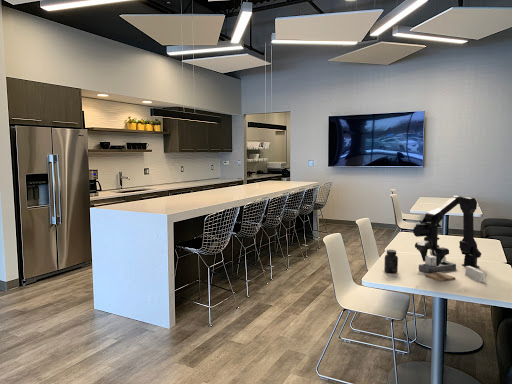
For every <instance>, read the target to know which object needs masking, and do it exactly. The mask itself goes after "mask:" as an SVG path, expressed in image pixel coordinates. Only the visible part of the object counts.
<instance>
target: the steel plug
mask: <svg viewBox="0 0 512 384" xmlns="http://www.w3.org/2000/svg"><path fill="white" fill-rule="evenodd" d="M424 264H425V265H426V266H429V267H435V266H436V257H435V256H431V255H427V256H425V262H424Z"/></svg>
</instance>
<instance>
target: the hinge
mask: <svg viewBox="0 0 512 384" xmlns="http://www.w3.org/2000/svg"><path fill="white" fill-rule="evenodd" d="M437 248H441V246H439V247H437ZM429 254H430V255H431V256H435V257H436V255H435V254H436V253H435V251H433V250H430V249H429ZM430 255H429V256H430ZM443 261H447V258H446V255H445V256H444V258H443V259H442V261H441V262H443Z"/></svg>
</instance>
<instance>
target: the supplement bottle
mask: <svg viewBox="0 0 512 384" xmlns="http://www.w3.org/2000/svg"><path fill="white" fill-rule="evenodd" d="M383 266H384V268H383V270H384V273H385V274H389V275H392V274H393V275H395V274H397V273H398V272H399V271H398V270H399V267H398V266H399V256H397V250H396V249H395V250H394V249H387V250H386V254H385V255H384V265H383Z"/></svg>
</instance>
